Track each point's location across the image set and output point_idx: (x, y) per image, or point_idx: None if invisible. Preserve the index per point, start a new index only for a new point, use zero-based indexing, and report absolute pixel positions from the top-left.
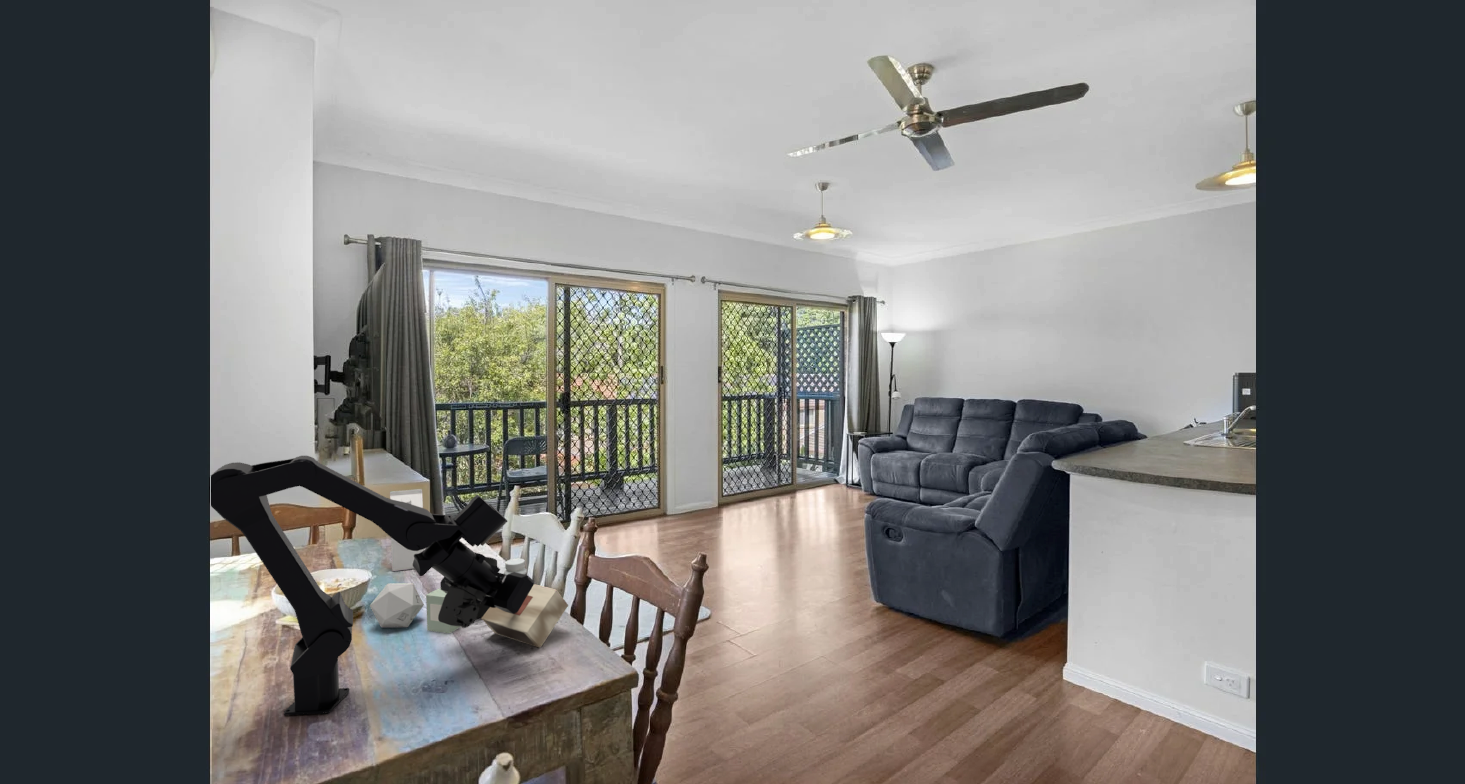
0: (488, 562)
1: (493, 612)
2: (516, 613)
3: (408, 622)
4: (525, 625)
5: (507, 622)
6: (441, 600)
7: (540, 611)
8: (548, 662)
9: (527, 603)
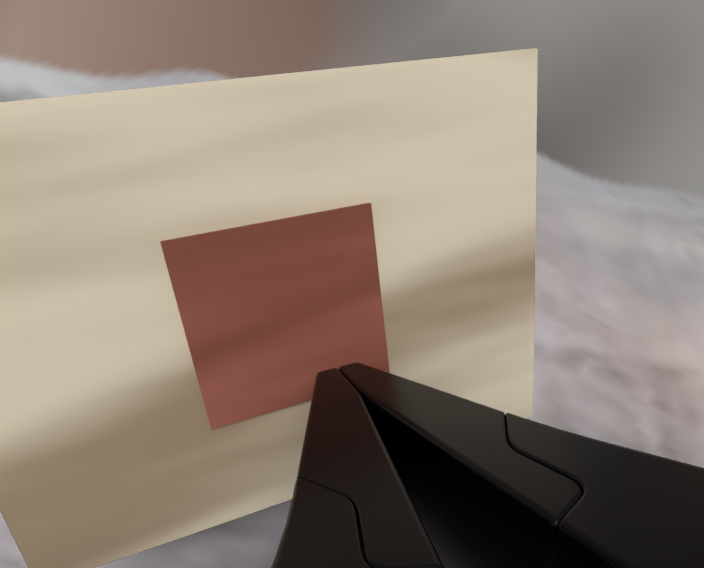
0: None
1: (105, 493)
2: None
3: None
4: (490, 395)
5: None
6: None
7: (528, 269)
8: (600, 388)
9: (374, 275)
